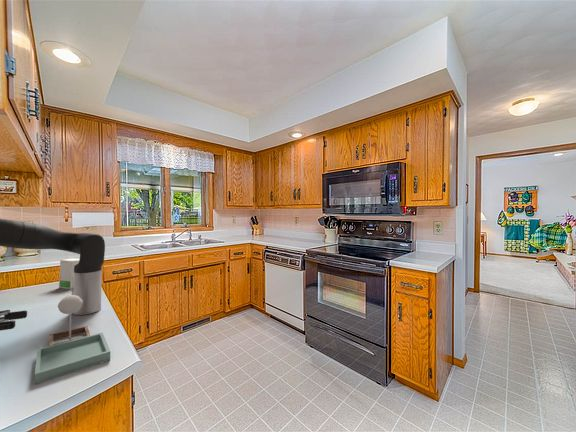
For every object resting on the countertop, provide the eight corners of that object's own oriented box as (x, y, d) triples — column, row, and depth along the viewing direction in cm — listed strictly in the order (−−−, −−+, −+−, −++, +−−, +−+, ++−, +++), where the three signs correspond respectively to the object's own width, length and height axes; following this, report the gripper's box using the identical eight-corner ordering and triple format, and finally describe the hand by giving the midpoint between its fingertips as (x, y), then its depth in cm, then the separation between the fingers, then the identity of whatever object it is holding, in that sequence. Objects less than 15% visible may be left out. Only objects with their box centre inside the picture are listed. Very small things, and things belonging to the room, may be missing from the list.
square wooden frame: (49, 340, 81) (49, 334, 81) (87, 331, 88) (87, 325, 88) (49, 352, 74) (49, 346, 74) (90, 341, 81) (90, 335, 81)
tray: (37, 357, 71) (37, 349, 71) (102, 340, 82) (102, 332, 82) (34, 384, 60) (34, 374, 60) (110, 359, 71) (110, 351, 71)
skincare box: (58, 288, 136) (58, 260, 136) (70, 284, 143) (71, 258, 143) (71, 289, 135) (71, 260, 135) (83, 285, 141) (83, 258, 141)
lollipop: (80, 334, 85) (80, 291, 85) (84, 340, 81) (84, 295, 81) (55, 341, 80) (56, 295, 80) (58, 348, 77) (59, 299, 77)
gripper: (-84, 326, 60) (11, 314, 69) (-47, 307, 73) (30, 299, 81) (-86, 357, 60) (10, 341, 69) (-48, 333, 73) (29, 322, 81)
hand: (21, 318), depth 75 cm, fingers open, 8 cm apart
